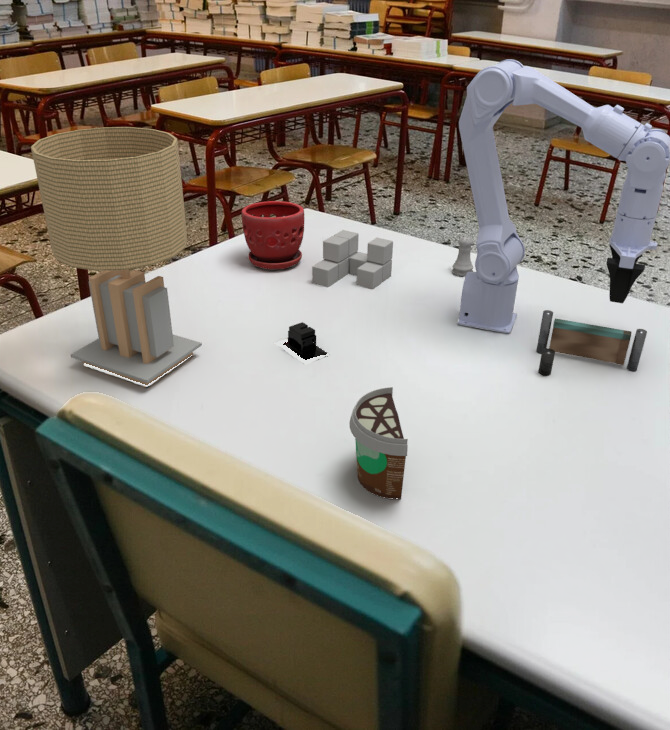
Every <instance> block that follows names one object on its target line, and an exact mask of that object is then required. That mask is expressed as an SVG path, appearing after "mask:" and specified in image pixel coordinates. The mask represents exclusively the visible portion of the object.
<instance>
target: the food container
mask: <svg viewBox="0 0 670 730" xmlns="http://www.w3.org/2000/svg"><path fill="white" fill-rule="evenodd" d="M393 390H394V388H393V387H391V386H390V387H383V388H382V387H381V388H379V389H378V388H377V389H373V390H372V391H370V392H367V393H366V394H364V395H362V396H361V397H360V398H359V399H358V401H357V402H356V404H355V405H354V407H353V408H352V412H351V415H350V420H349V429H350V432H351V434H352V435H353V437H354V438H355V439H354V440H355V456H356V457H355V459H356V473H357V474H356V475H357V480H358V482H359V484H360V485H361V486H362V488H364V490H366V491H367V492H369V493H371V494H372V493H373V494H372V495H374V494H375V495H374V496H377V495H378V496H377V497H380V496H381V497H380V498H383V497H385V498H384V499H388V498H393V499H392V500H402V494H403V485H404V477H405V476H404V475H405V469H406V467H405V466H406V460H407V456H408V448H409V447H408V438H404V433H403V429H402V426H401V422H400V418H399V413H398V411H397V409H396V405H395V401H394V398H393ZM396 498H398V499H396Z"/></svg>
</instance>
